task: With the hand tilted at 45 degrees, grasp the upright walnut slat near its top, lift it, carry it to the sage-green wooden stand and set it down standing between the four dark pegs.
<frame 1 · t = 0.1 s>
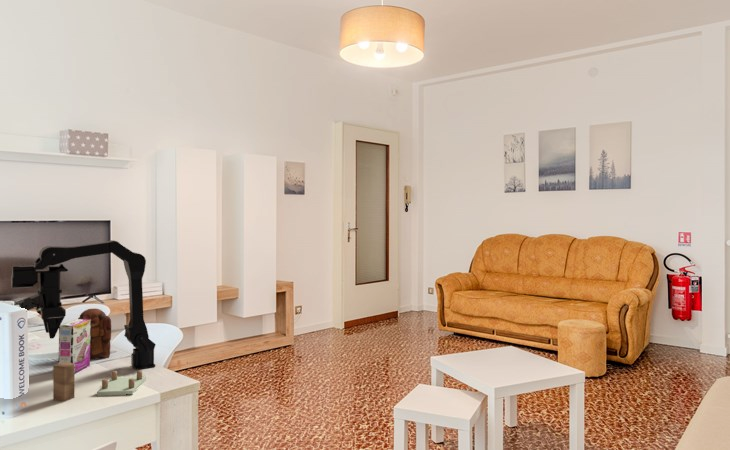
hand: (49, 335, 168), 15 cm above the table, tool pointing down, fingers open, 9 cm apart
peg stand: (122, 387, 164), on the table
wooden figurine: (93, 358, 195), on the table
walnut slat: (64, 398, 153), on the table
candy bar box: (75, 370, 180), on the table
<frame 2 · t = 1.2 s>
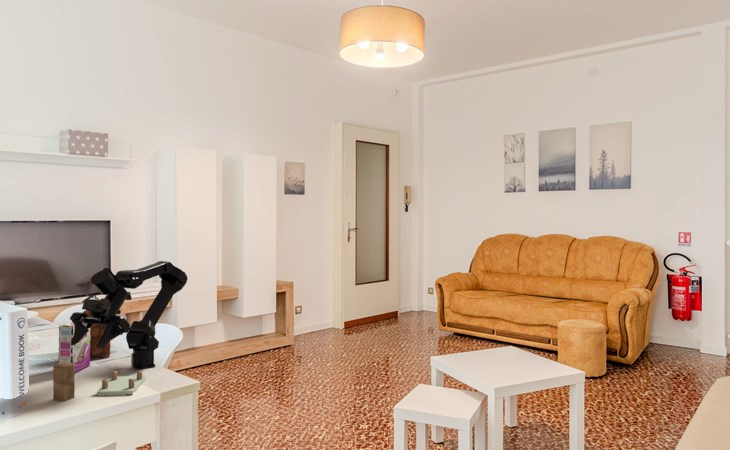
hand: (85, 346, 161), 13 cm above the table, tool tilted 45°, fingers open, 9 cm apart
nothing on the table moved.
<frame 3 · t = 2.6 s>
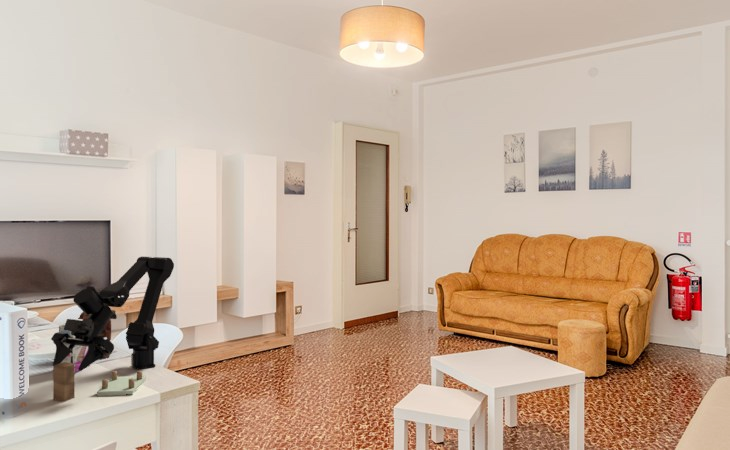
hand: (66, 368, 154), 9 cm above the table, tool tilted 45°, fingers open, 9 cm apart
nothing on the table moved.
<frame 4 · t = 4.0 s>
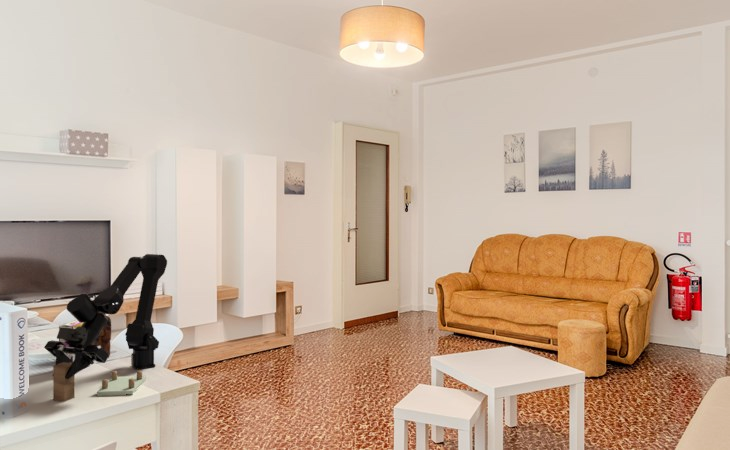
hand: (59, 377, 152), 7 cm above the table, tool tilted 45°, fingers closed on walnut slat, 4 cm apart
walnut slat: (63, 398, 153), on the table, touching gripper
everything else where it was.
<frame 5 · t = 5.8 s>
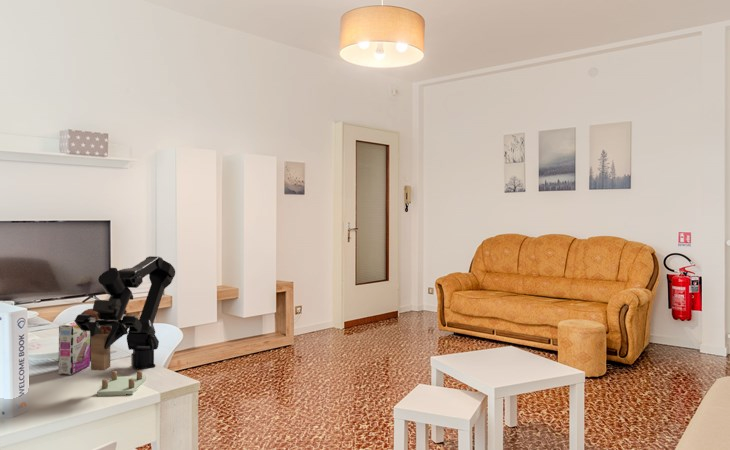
hand: (98, 348, 157), 14 cm above the table, tool tilted 45°, fingers closed on walnut slat, 4 cm apart
walnut slat: (100, 368, 159), point 7 cm above the table, touching gripper
everything else where it was.
when the fingers open (9 cm above the table, at t = 7.7 s): walnut slat drops 1 cm, resting on peg stand.
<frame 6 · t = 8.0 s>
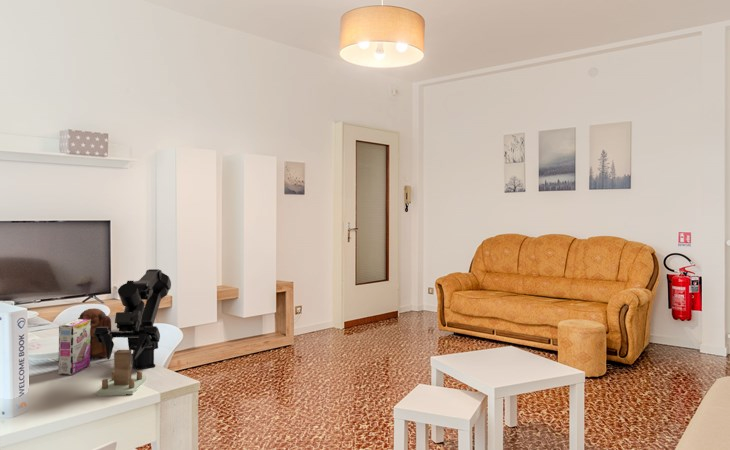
hand: (121, 358, 162), 9 cm above the table, tool tilted 45°, fingers open, 7 cm apart
walnut slat: (122, 383, 164), point 1 cm above the table, touching peg stand
everything else where it was.
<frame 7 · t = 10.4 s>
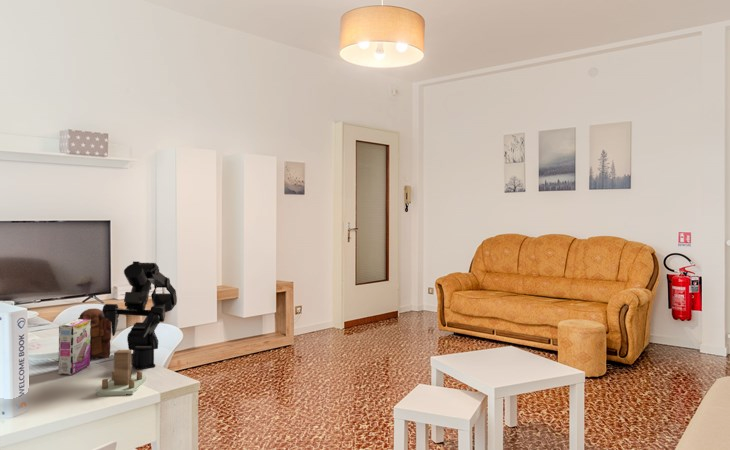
hand: (128, 336, 171), 14 cm above the table, tool tilted 40°, fingers open, 9 cm apart
nothing on the table moved.
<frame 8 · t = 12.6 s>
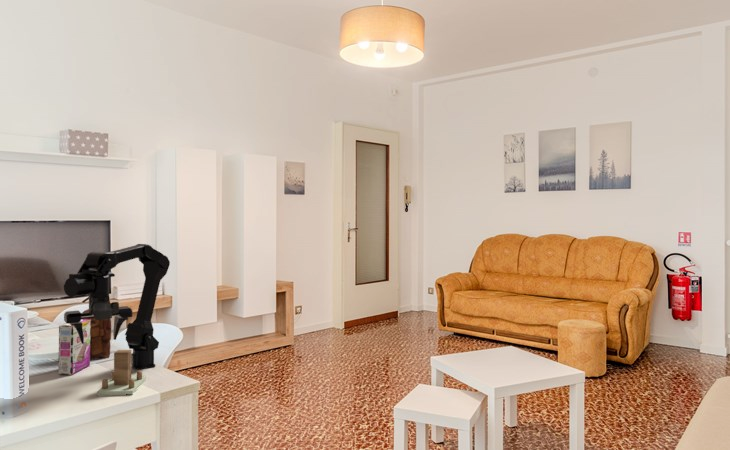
hand: (98, 341, 167), 13 cm above the table, tool pointing down, fingers open, 9 cm apart
nothing on the table moved.
at the end: walnut slat inside the target area on the peg stand (0.0 cm from its centre), point 1.2 cm above the peg stand's base; walnut slat tilted 0°; the gripper is holding nothing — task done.
